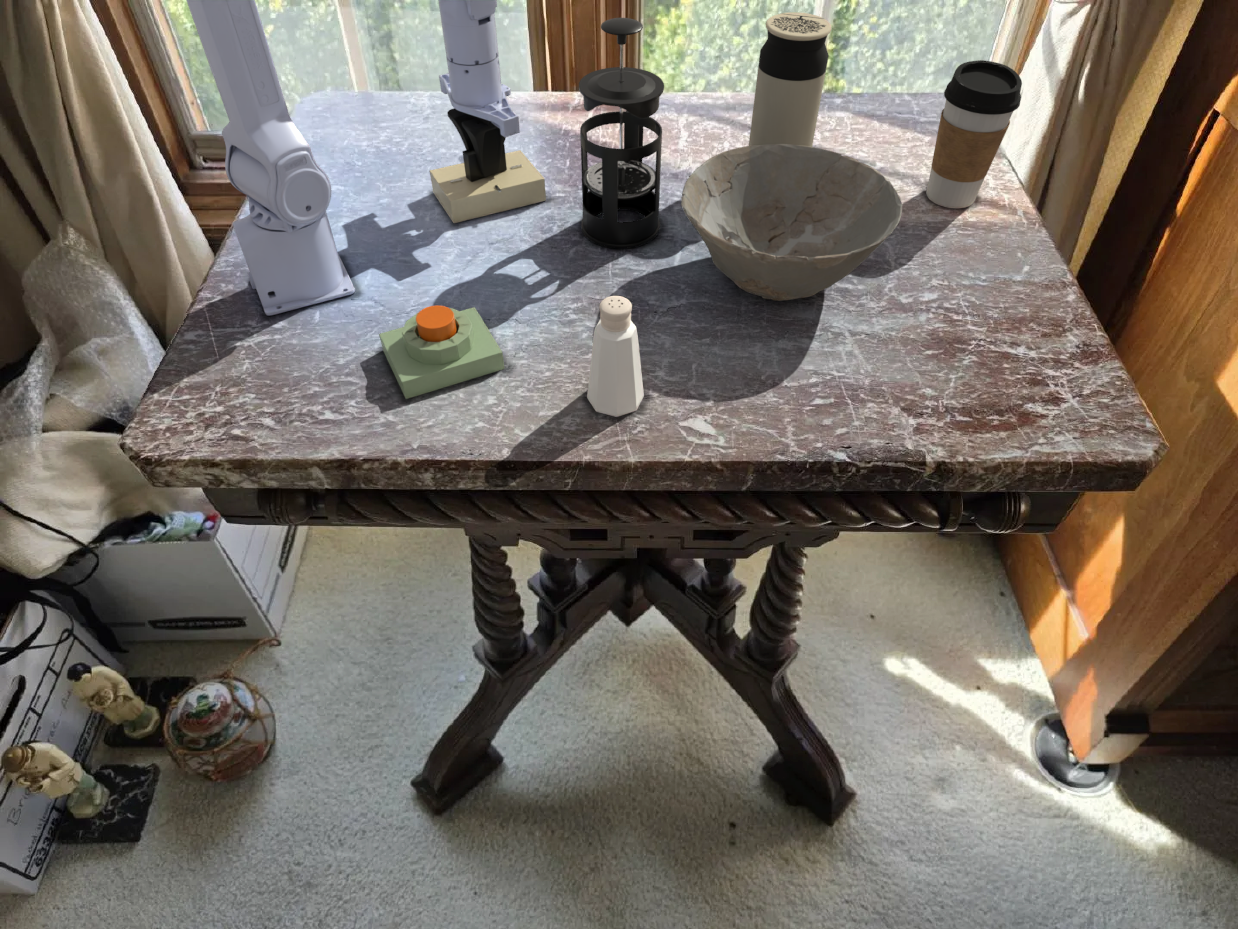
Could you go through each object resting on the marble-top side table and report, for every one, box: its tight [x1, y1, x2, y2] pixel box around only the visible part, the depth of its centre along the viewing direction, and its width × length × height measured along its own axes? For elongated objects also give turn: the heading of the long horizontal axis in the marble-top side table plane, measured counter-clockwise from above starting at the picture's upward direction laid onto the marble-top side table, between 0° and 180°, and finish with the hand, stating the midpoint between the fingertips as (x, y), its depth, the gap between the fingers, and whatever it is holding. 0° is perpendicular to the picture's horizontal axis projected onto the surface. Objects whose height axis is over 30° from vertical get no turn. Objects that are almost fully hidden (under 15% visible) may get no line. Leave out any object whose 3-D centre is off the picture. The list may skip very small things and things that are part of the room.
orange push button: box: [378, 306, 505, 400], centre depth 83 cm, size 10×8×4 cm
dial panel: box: [429, 149, 547, 224], centre depth 105 cm, size 12×9×3 cm
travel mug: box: [748, 11, 832, 147], centre depth 104 cm, size 8×8×18 cm
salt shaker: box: [586, 295, 645, 418], centre depth 77 cm, size 5×5×11 cm
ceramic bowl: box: [680, 144, 903, 302], centre depth 91 cm, size 22×23×10 cm
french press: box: [578, 17, 665, 250], centre depth 93 cm, size 12×9×23 cm
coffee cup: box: [925, 59, 1023, 209], centre depth 101 cm, size 8×8×15 cm
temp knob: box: [462, 144, 507, 182], centre depth 102 cm, size 5×1×4 cm, turn 126°
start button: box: [416, 304, 456, 342], centre depth 81 cm, size 4×4×2 cm
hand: (486, 170), depth 103 cm, fingers closed on temp knob
